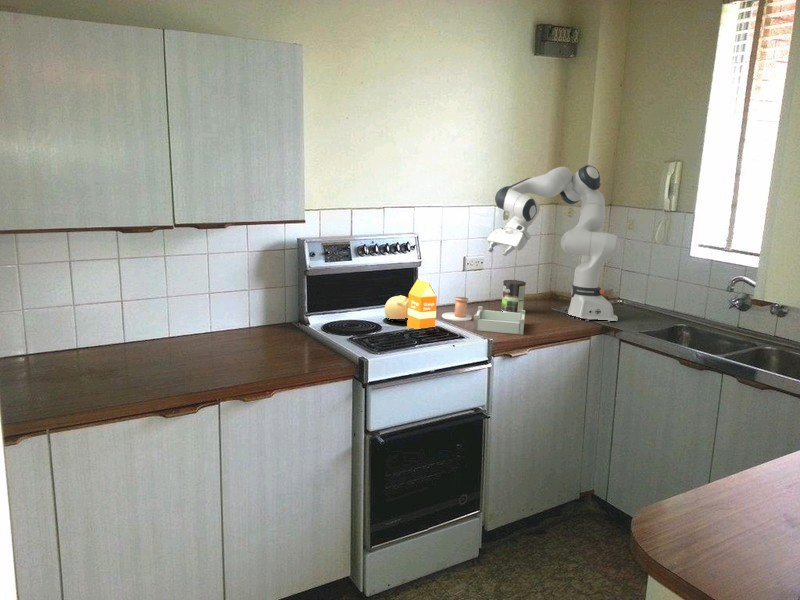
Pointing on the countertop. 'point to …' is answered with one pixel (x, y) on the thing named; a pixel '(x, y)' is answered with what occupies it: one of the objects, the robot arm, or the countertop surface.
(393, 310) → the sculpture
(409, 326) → the orange juice
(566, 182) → the robot arm
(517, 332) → the green tray
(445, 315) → the saucer
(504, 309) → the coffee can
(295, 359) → the countertop surface
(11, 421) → the countertop surface
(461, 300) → the terracotta pot
